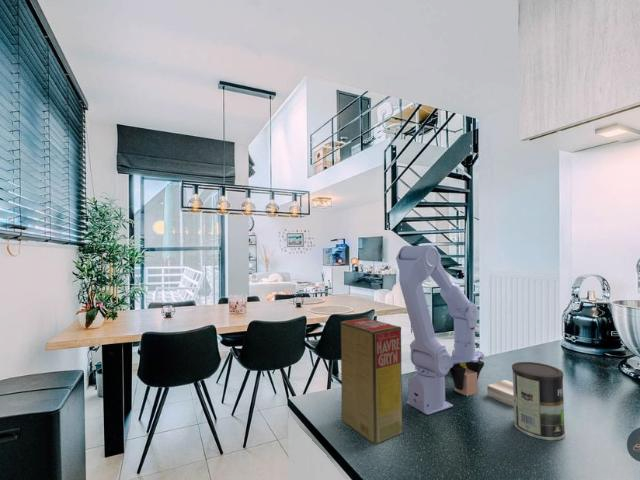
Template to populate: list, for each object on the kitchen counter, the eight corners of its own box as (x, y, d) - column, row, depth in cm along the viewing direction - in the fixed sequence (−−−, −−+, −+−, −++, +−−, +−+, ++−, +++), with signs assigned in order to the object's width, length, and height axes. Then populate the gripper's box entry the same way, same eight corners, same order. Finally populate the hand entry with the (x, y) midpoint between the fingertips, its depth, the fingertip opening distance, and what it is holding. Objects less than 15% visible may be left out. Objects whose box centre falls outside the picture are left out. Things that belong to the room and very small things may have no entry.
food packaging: (405, 432, 79) (402, 326, 80) (374, 446, 74) (372, 332, 75) (368, 410, 91) (366, 316, 91) (339, 420, 86) (337, 321, 86)
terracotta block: (467, 396, 98) (466, 375, 98) (454, 390, 102) (453, 370, 102) (477, 393, 100) (477, 372, 100) (464, 387, 104) (464, 367, 104)
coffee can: (563, 424, 82) (561, 365, 82) (567, 446, 73) (565, 380, 73) (514, 413, 87) (512, 358, 88) (512, 432, 79) (510, 371, 79)
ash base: (514, 407, 91) (514, 395, 91) (487, 395, 98) (487, 385, 98) (532, 400, 94) (532, 389, 94) (505, 389, 102) (504, 379, 102)
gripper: (458, 348, 94) (460, 397, 94) (492, 340, 101) (493, 386, 101) (439, 342, 101) (440, 388, 100) (472, 335, 107) (473, 378, 107)
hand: (465, 386), depth 101 cm, fingers open, 5 cm apart
